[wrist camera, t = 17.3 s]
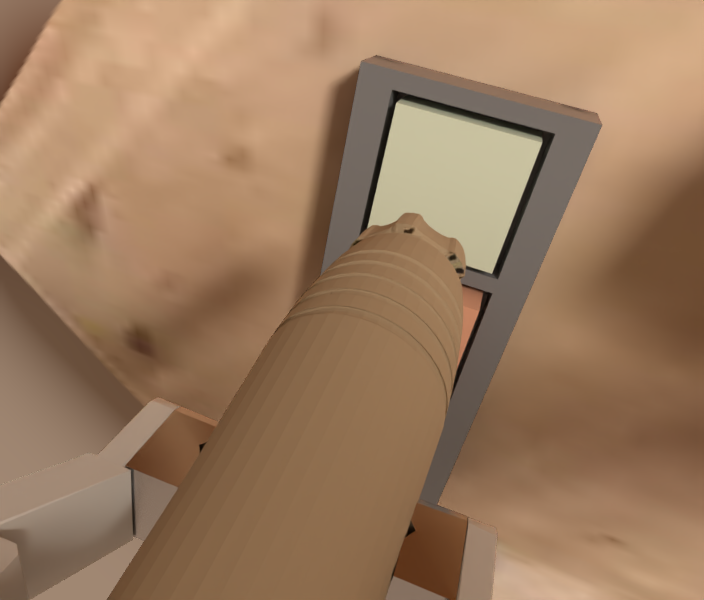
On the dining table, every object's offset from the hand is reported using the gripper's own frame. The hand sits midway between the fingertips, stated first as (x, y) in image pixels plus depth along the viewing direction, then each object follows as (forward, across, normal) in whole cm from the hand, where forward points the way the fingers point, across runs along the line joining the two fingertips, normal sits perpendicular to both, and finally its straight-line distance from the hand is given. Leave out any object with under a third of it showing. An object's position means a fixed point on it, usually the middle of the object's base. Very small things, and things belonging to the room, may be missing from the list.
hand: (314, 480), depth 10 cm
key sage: (+20, 0, 0) cm, 20 cm away
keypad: (+21, 0, +8) cm, 22 cm away
